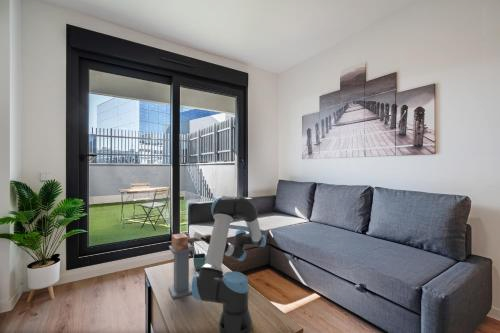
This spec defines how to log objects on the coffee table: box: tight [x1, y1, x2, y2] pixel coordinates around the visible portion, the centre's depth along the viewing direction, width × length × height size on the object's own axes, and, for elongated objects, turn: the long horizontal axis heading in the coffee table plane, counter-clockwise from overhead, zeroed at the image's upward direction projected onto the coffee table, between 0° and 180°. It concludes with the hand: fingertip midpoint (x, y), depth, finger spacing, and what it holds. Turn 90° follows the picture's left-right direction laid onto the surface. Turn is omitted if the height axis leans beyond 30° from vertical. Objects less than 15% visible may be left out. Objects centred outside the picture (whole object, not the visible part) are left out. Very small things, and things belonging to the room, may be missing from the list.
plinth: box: [168, 243, 195, 300], centre depth 136 cm, size 12×12×26 cm
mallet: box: [171, 232, 212, 251], centre depth 140 cm, size 23×9×7 cm, turn 123°
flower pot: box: [192, 252, 206, 271], centre depth 167 cm, size 9×9×9 cm
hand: (195, 234), depth 140 cm, fingers open, 3 cm apart
